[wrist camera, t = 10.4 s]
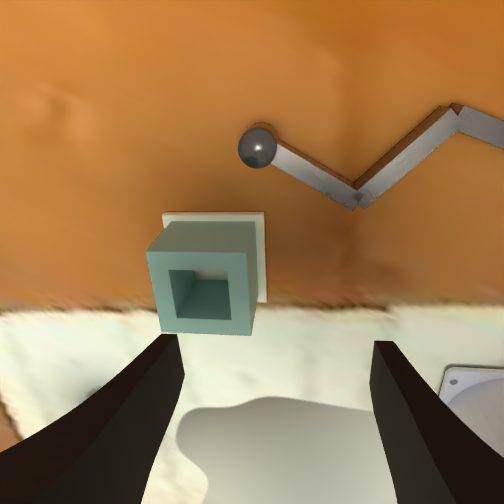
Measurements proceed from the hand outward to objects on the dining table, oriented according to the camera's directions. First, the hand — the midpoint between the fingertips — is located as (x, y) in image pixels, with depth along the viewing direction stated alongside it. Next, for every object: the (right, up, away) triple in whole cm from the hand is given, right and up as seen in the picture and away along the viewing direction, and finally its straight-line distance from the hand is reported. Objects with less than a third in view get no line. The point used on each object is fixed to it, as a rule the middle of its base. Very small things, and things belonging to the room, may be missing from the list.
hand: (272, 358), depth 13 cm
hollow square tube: (-3, +3, +9) cm, 10 cm away
